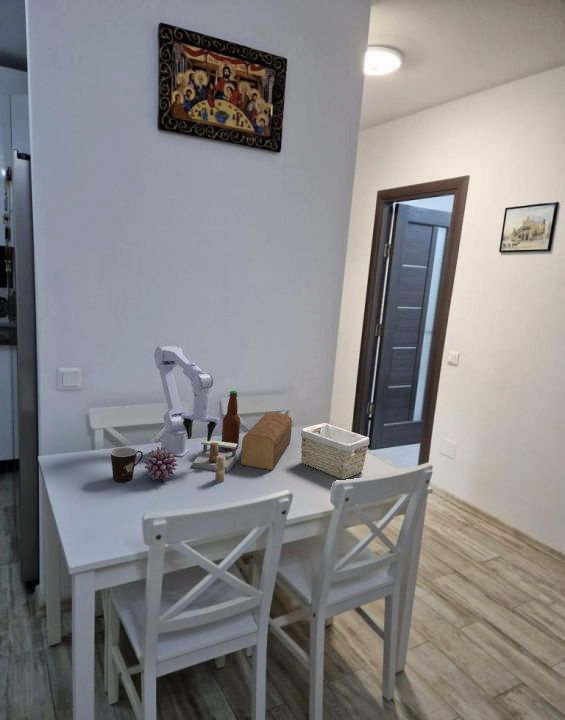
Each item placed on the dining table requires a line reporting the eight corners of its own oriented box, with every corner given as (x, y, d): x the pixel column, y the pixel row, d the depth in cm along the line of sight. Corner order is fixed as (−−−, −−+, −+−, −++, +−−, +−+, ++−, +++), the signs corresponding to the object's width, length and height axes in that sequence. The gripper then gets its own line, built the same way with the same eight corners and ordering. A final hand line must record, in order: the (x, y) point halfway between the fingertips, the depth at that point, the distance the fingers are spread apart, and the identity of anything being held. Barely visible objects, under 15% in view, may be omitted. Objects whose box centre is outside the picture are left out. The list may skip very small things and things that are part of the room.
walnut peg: (207, 466, 185) (209, 444, 184) (210, 463, 188) (211, 441, 187) (215, 468, 185) (217, 445, 183) (218, 465, 188) (219, 443, 186)
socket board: (192, 467, 184) (193, 450, 183) (203, 455, 196) (204, 439, 195) (228, 472, 182) (229, 455, 181) (236, 459, 195) (237, 443, 193)
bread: (291, 443, 219) (293, 413, 217) (273, 471, 186) (276, 436, 184) (261, 439, 222) (263, 409, 219) (239, 466, 189) (241, 431, 187)
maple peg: (214, 481, 173) (215, 458, 171) (216, 478, 176) (218, 454, 174) (222, 483, 172) (224, 459, 171) (225, 479, 176) (226, 456, 174)
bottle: (237, 445, 211) (241, 389, 207) (238, 451, 204) (242, 394, 200) (221, 444, 210) (224, 388, 206) (221, 450, 203) (225, 393, 199)
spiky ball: (175, 487, 166) (176, 454, 164) (139, 485, 165) (140, 452, 163) (179, 473, 177) (181, 442, 175) (146, 471, 176) (147, 441, 174)
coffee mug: (111, 485, 163) (112, 457, 161) (108, 475, 171) (108, 448, 169) (146, 481, 169) (147, 454, 167) (141, 471, 176) (142, 445, 174)
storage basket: (296, 462, 197) (299, 428, 195) (321, 454, 209) (324, 421, 207) (343, 482, 182) (347, 445, 179) (367, 472, 193) (371, 437, 191)
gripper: (178, 405, 179) (177, 440, 182) (216, 409, 177) (214, 445, 180) (185, 400, 186) (184, 434, 189) (221, 405, 184) (219, 439, 187)
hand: (199, 439), depth 185 cm, fingers open, 7 cm apart
